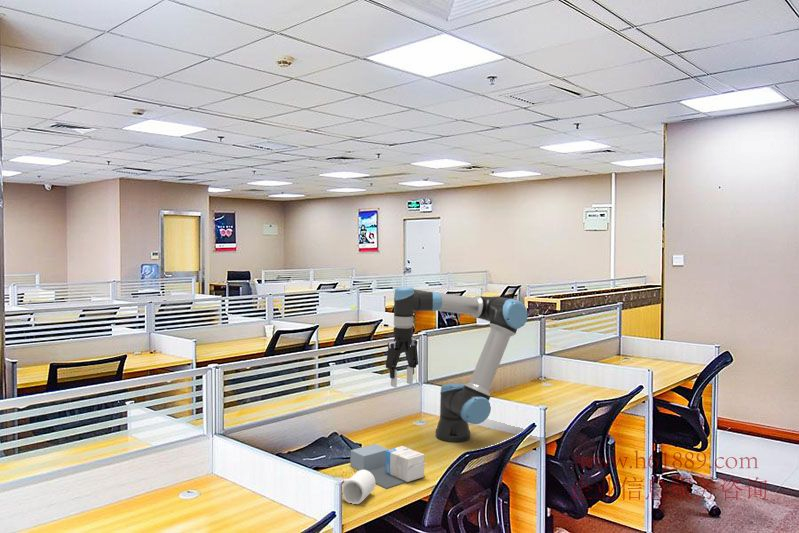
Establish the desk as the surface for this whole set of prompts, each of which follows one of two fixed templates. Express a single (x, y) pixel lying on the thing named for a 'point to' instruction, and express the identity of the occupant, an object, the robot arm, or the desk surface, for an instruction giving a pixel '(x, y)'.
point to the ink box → (405, 463)
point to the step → (368, 457)
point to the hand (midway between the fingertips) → (401, 384)
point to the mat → (386, 478)
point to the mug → (358, 486)
